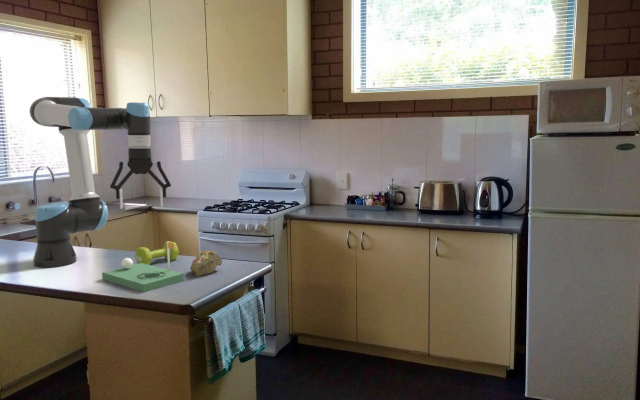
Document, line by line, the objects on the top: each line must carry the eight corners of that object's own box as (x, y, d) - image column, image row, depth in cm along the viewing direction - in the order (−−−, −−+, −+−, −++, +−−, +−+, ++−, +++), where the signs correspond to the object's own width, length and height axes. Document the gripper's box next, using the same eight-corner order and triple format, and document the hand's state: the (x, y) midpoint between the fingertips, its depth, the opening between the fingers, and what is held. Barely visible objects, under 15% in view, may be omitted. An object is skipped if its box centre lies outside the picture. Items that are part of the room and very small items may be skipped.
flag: (167, 277, 192) (166, 241, 191) (169, 277, 193) (168, 241, 191) (174, 279, 190) (172, 242, 188) (176, 278, 191) (174, 242, 189)
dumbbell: (145, 268, 205) (144, 250, 204) (133, 265, 210) (132, 247, 209) (181, 260, 217) (180, 242, 216) (169, 257, 222) (168, 239, 221)
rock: (202, 288, 196) (195, 268, 190) (186, 279, 201) (179, 259, 195) (225, 268, 203) (219, 248, 197) (209, 260, 208) (202, 240, 202)
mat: (102, 279, 190) (102, 272, 190) (141, 269, 203) (141, 262, 203) (144, 292, 176) (143, 284, 176) (183, 280, 189) (183, 273, 189)
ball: (119, 269, 194) (118, 258, 194) (129, 266, 197) (128, 256, 197) (125, 271, 192) (125, 259, 191) (135, 268, 195) (135, 257, 194)
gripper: (100, 148, 183) (103, 210, 186) (177, 147, 190) (178, 207, 194) (101, 147, 190) (104, 207, 193) (175, 146, 197) (177, 204, 201)
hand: (141, 207), depth 193 cm, fingers open, 13 cm apart
